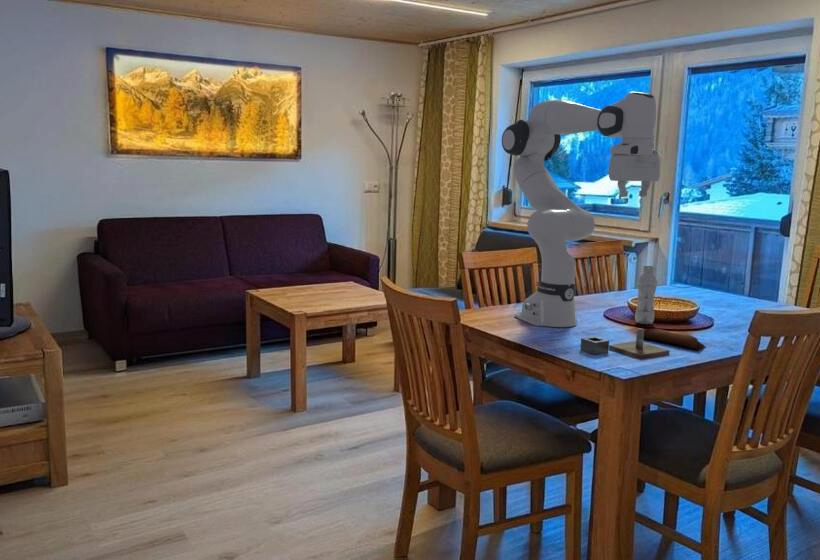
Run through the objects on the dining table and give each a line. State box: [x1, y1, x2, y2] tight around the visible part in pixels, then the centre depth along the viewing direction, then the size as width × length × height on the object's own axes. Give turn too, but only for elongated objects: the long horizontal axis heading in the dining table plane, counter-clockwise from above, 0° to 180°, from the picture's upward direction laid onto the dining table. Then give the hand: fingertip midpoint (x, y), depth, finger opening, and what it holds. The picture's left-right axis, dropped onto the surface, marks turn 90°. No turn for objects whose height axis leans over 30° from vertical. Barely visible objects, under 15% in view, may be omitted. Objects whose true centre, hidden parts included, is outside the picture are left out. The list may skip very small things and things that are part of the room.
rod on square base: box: [609, 327, 670, 360], centre depth 210 cm, size 12×12×7 cm
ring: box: [579, 335, 610, 356], centre depth 209 cm, size 6×6×4 cm
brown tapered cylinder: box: [643, 328, 707, 352], centre depth 221 cm, size 18×7×7 cm
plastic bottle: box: [634, 265, 658, 325], centre depth 246 cm, size 6×7×20 cm
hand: (633, 196), depth 211 cm, fingers open, 8 cm apart
